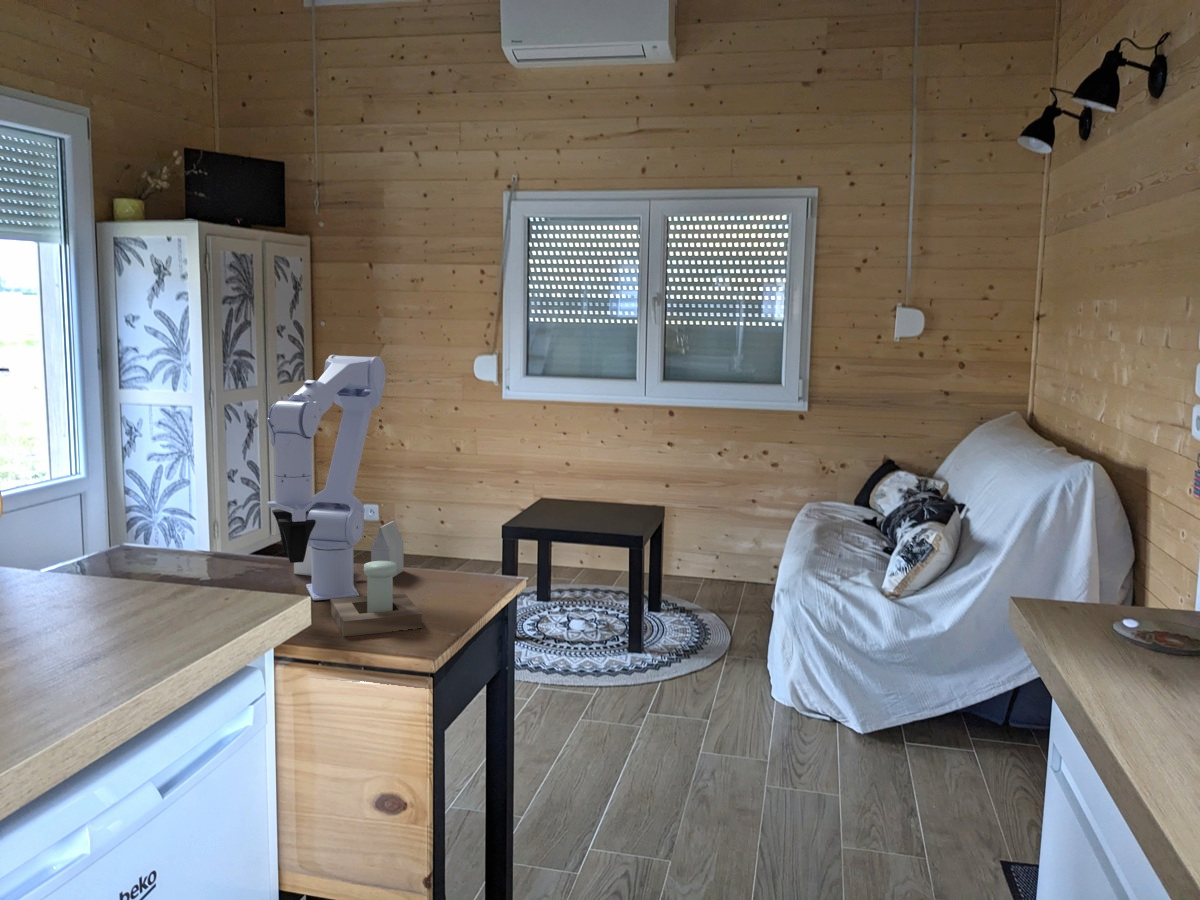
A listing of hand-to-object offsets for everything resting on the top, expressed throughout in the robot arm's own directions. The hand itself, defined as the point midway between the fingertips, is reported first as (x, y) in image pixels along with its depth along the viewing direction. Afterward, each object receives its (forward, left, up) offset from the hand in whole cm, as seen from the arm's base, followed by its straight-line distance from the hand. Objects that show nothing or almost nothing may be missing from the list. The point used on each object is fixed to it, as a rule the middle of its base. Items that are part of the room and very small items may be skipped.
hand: (293, 556), depth 163 cm
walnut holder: (+6, +12, -10) cm, 17 cm away
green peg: (+6, +13, -10) cm, 18 cm away
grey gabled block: (-22, +20, -11) cm, 32 cm away
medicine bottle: (-28, +8, -11) cm, 31 cm away
